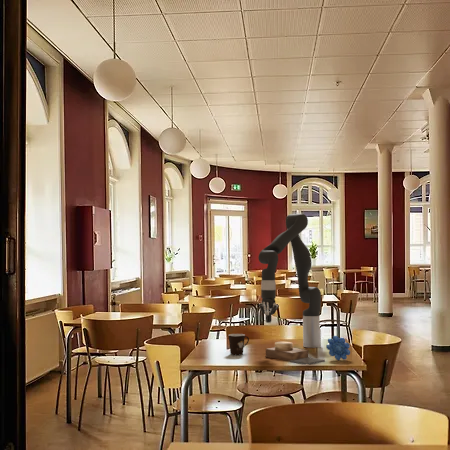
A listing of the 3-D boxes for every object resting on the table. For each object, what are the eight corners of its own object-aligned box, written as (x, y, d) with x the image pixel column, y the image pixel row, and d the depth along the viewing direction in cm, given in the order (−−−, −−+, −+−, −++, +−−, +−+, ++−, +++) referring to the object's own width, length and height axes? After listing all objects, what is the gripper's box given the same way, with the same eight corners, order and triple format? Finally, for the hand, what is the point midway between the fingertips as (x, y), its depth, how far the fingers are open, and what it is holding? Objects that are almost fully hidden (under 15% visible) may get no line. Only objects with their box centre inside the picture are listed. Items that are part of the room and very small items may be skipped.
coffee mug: (230, 356, 323) (230, 336, 324) (226, 353, 332) (226, 334, 332) (252, 355, 326) (252, 335, 326) (248, 352, 334) (248, 333, 335)
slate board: (307, 358, 314) (307, 357, 314) (324, 361, 306) (324, 359, 306) (290, 361, 305) (290, 360, 306) (307, 364, 298) (307, 363, 298)
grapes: (326, 361, 306) (326, 336, 307) (326, 359, 313) (326, 334, 313) (351, 361, 305) (350, 336, 305) (350, 359, 311) (349, 335, 312)
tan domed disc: (283, 346, 326) (283, 341, 326) (296, 349, 319) (296, 343, 319) (271, 348, 320) (271, 342, 320) (284, 351, 313) (284, 345, 313)
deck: (281, 354, 329) (281, 346, 329) (308, 358, 315) (308, 350, 315) (265, 356, 320) (265, 348, 321) (292, 361, 307) (292, 353, 307)
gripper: (282, 289, 326) (282, 322, 325) (264, 288, 336) (264, 320, 335) (272, 289, 321) (272, 324, 320) (254, 288, 331) (254, 321, 330)
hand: (268, 322), depth 328 cm, fingers closed
